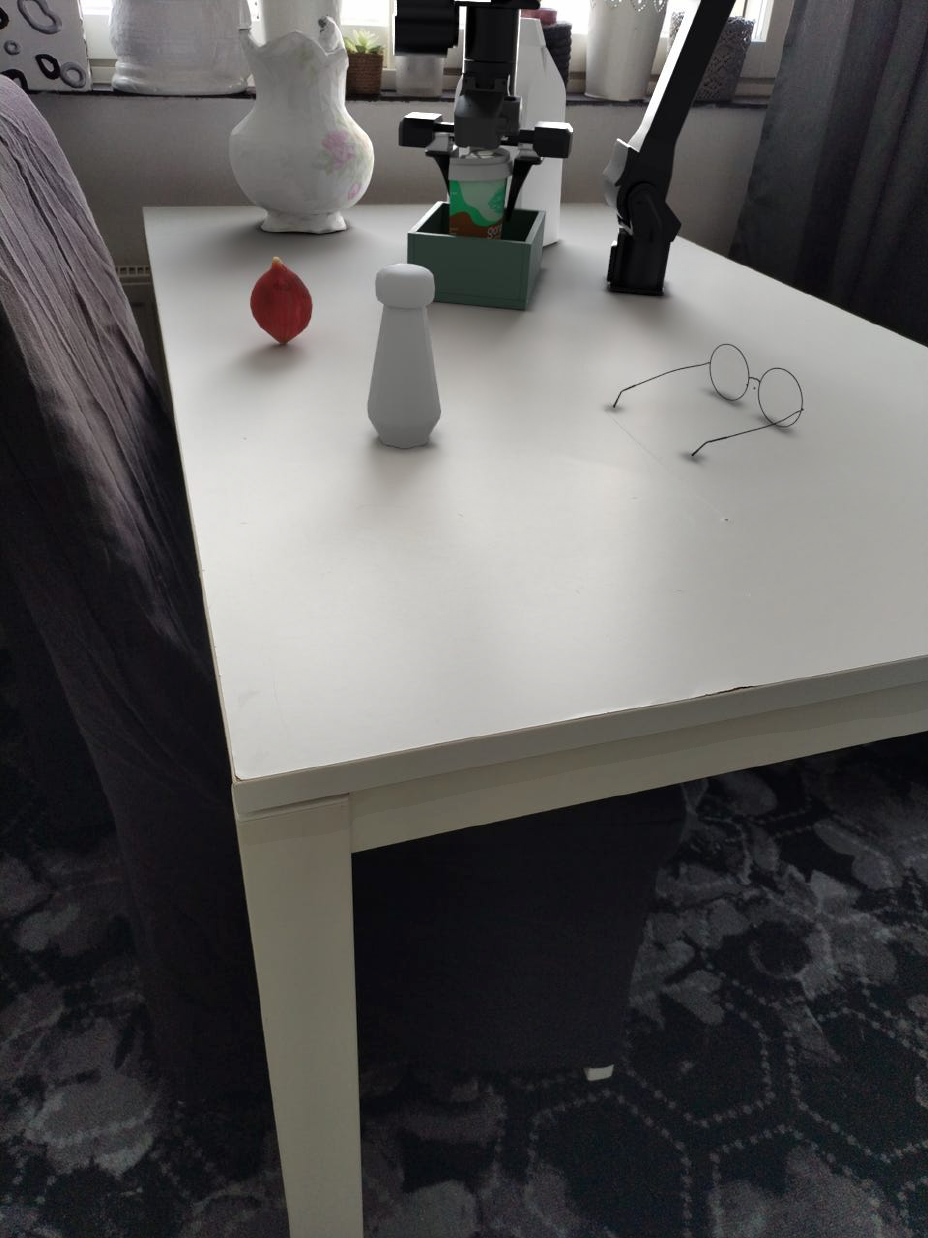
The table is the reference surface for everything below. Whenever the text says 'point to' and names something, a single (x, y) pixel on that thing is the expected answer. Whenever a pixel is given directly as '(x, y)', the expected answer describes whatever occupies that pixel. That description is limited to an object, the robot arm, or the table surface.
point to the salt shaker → (404, 359)
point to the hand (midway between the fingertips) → (482, 219)
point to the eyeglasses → (729, 399)
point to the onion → (281, 303)
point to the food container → (479, 192)
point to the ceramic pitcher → (300, 132)
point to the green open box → (480, 258)
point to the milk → (539, 103)
